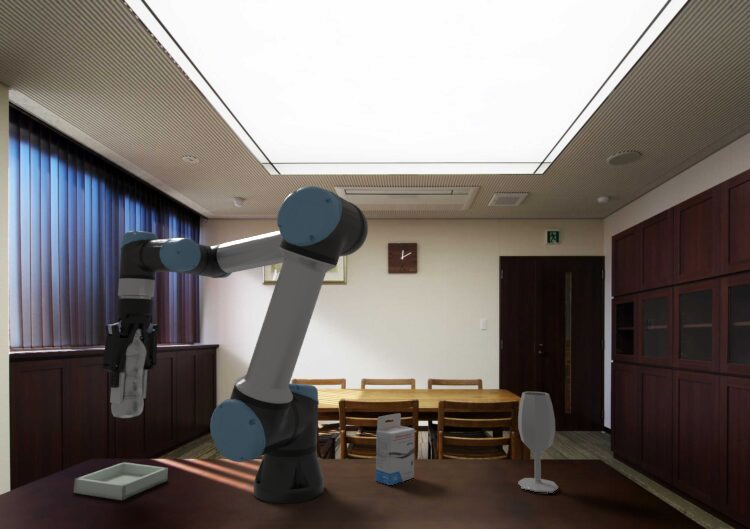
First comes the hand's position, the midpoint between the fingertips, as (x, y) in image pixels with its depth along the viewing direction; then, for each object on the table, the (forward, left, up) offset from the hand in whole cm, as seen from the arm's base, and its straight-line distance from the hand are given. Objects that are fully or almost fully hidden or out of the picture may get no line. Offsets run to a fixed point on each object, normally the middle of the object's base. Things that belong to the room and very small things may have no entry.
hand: (128, 400), depth 108 cm
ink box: (-56, -25, -19) cm, 64 cm away
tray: (0, 0, -19) cm, 19 cm away
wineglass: (-88, -31, -19) cm, 95 cm away
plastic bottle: (0, 0, -4) cm, 4 cm away
